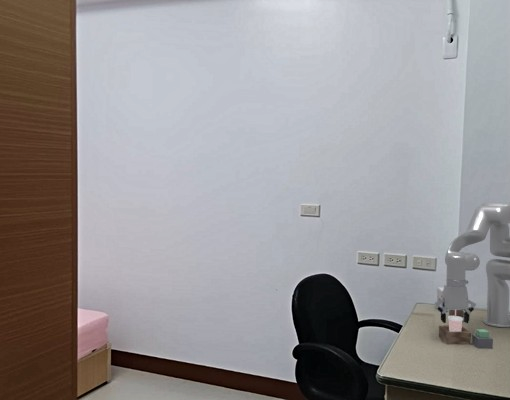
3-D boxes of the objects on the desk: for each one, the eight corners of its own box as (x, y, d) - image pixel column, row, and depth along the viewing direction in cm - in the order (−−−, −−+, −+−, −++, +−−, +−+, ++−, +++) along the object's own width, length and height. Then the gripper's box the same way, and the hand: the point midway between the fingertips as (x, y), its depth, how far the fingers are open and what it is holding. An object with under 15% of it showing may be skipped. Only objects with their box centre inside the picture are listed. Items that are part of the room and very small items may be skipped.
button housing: (486, 343, 212) (486, 334, 212) (492, 348, 206) (492, 338, 206) (472, 343, 212) (472, 334, 212) (478, 348, 206) (478, 338, 206)
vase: (465, 323, 244) (465, 305, 243) (450, 322, 245) (450, 304, 245) (462, 319, 250) (462, 302, 250) (447, 318, 252) (448, 301, 251)
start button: (484, 341, 211) (485, 329, 210) (488, 344, 207) (489, 332, 207) (475, 340, 211) (476, 329, 210) (479, 343, 207) (480, 331, 207)
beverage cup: (461, 341, 212) (461, 308, 211) (446, 338, 215) (446, 306, 215) (463, 337, 217) (464, 305, 216) (449, 335, 220) (449, 303, 220)
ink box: (439, 311, 265) (440, 290, 264) (436, 307, 273) (437, 286, 273) (456, 312, 263) (457, 290, 263) (453, 308, 272) (453, 287, 271)
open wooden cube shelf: (461, 337, 221) (461, 325, 221) (470, 344, 211) (470, 332, 211) (438, 336, 221) (438, 325, 221) (446, 343, 211) (447, 332, 211)
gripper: (472, 281, 219) (471, 320, 219) (432, 281, 219) (432, 319, 220) (479, 285, 211) (478, 325, 212) (438, 284, 212) (437, 324, 212)
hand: (454, 322), depth 216 cm, fingers open, 9 cm apart
